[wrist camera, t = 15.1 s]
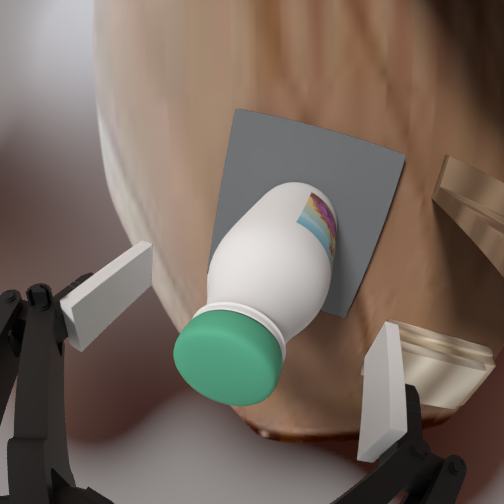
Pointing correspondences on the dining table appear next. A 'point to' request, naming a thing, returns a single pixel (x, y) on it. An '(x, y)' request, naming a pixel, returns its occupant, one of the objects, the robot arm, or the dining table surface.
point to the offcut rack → (443, 346)
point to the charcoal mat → (319, 176)
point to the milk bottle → (260, 295)
